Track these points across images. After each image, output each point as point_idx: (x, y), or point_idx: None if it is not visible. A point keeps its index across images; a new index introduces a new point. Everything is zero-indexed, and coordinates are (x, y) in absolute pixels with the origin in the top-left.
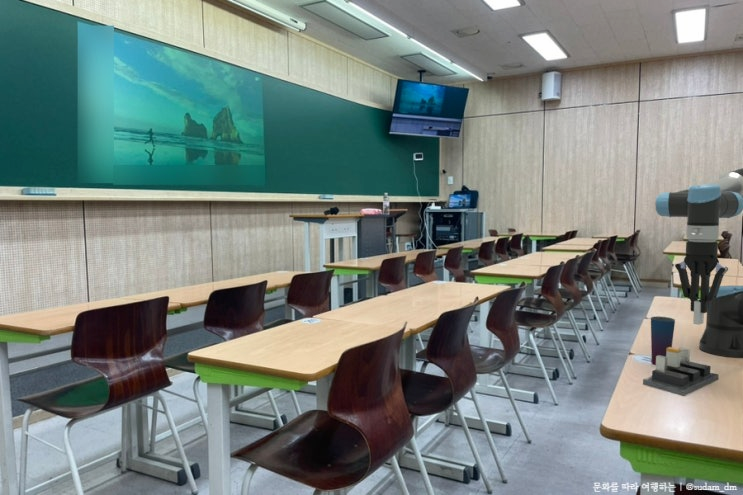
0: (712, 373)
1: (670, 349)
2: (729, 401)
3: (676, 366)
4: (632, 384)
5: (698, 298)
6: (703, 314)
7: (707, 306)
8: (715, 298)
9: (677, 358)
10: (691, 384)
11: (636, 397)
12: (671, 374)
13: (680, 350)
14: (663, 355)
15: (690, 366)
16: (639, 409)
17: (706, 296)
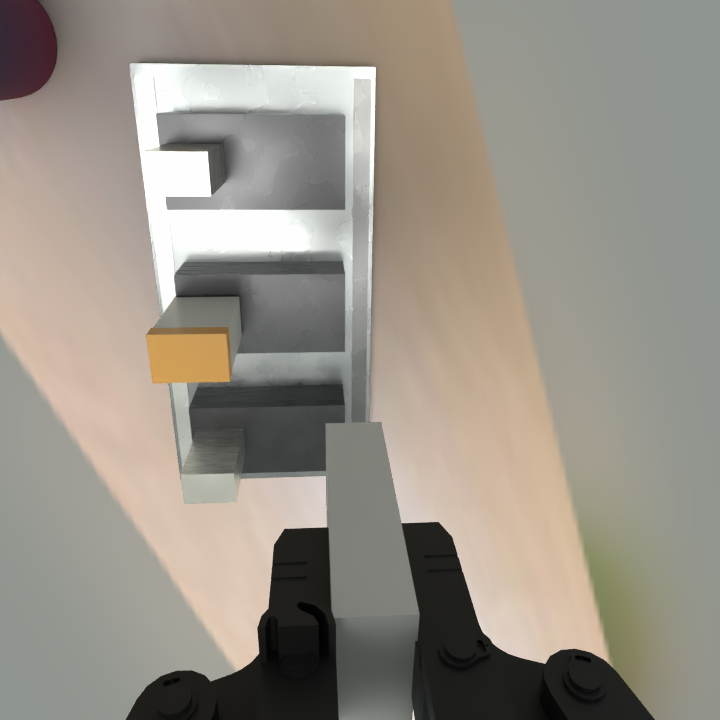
0: (342, 76)
1: (182, 380)
2: (514, 374)
3: (240, 338)
4: (160, 499)
5: (331, 640)
6: (393, 485)
7: (465, 584)
8: (610, 676)
9: (234, 350)
10: (355, 379)
11: (261, 603)
12: (283, 453)
13: (227, 336)
14: (10, 87)
15: (262, 209)
16: None
17: (478, 709)
